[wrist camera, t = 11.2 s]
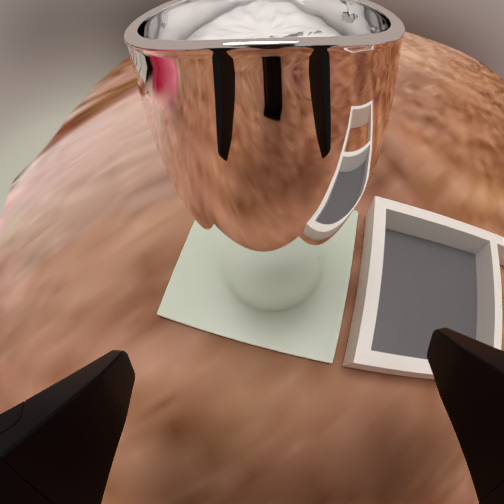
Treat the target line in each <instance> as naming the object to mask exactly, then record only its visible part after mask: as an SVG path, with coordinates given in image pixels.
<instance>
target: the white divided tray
mask: <svg viewBox="0 0 504 504" xmlns="http://www.w3.org/2000/svg"><path fill="white" fill-rule="evenodd" d="M357 217H358V211H355V210H353V211H352V213H351V215H350V216H349V218H348V219H347V221H346V222H345V224H344V225H343V226H342V227H341V229H340V230H339V231H338V233H337V234H336V235H335V236H334V238H333V239H332V240H331V241H330V243H329V244H328V245H327V246H326V247H325V249H324V250H323V251H322V253H321V259H322V267H321V274H320V278H319V281H318V284H317V286H316V288H315V289H314V291H313V292H312V293H311V294H310V295H309V296H308V297H307V298H306V299H305V300H304V301H302V302H301V303H299V304H298V305H296V306H294V307H291V308H288V309H285V310H279V311H266V310H261V309H257V308H254V307H252V306H250V305H248V304H246V303H245V302H243V301H242V300H240V299H239V298H238V297H237V296H236V295H235V294H234V293H233V291H232V290H231V288H230V287H229V285H228V283H227V280H226V277H225V273H224V254H223V252H222V251H221V250H220V249H219V248H218V246H217V245H216V244H215V243H214V242H213V241H212V240H211V238H210V237H209V236H208V235H207V234H206V232H205V231H204V230H203V229H202V228H201V226H200V225H199V224H198V223H197V221H196V220H195V222H194V224H193V226H192V228H191V231H190V233H189V235H188V238H187V240H186V242H185V245H184V247H183V249H182V252H181V254H180V257H179V259H178V261H177V264H176V266H175V269H174V271H173V274H172V276H171V279H170V281H169V284H168V286H167V289H166V291H165V294H164V297H163V299H162V302H161V304H160V307H159V310H158V312H157V315H159V316H161V317H164V318H167V319H170V320H173V321H176V322H179V323H181V324H184V325H187V326H191V327H194V328H197V329H200V330H203V331H206V332H209V333H213V334H216V335H219V336H222V337H226V338H229V339H233V340H236V341H240V342H243V343H247V344H250V345H254V346H258V347H261V348H265V349H269V350H273V351H277V352H281V353H285V354H289V355H293V356H298V357H302V358H306V359H311V360H316V361H320V362H325V363H330V364H332V363H333V359H334V354H335V350H336V346H337V341H338V337H339V332H340V327H341V322H342V317H343V312H344V307H345V301H346V295H347V290H348V284H349V278H350V271H351V265H352V258H353V250H354V243H355V235H356V226H357ZM499 264H500V265H503V266H504V237H501V236H499V235H496V234H493V233H491V232H488V231H485V230H483V229H480V228H477V227H475V226H472V225H469V224H466V223H463V222H460V221H457V220H454V219H451V218H448V217H445V216H442V215H439V214H436V213H433V212H430V211H426V210H423V209H420V208H417V207H413V206H410V205H406V204H403V203H399V202H396V201H392V200H388V199H385V198H381V197H377V196H375V197H374V200H373V202H372V204H371V206H370V209H369V211H368V213H367V215H366V220H365V231H364V241H363V250H362V258H361V266H360V273H359V280H358V287H357V293H356V299H355V305H354V311H353V317H352V322H351V327H350V332H349V337H348V342H347V347H346V352H345V356H344V361H343V365H342V366H345V367H350V368H356V369H361V370H367V371H373V372H379V373H386V374H393V375H400V376H407V377H415V378H424V379H433V380H435V379H434V376H433V373H432V370H431V368H430V365H429V362H428V359H427V350H428V347H429V343H430V340H431V336H432V333H433V331H434V330H436V329H439V328H444V327H446V328H449V329H451V330H454V331H456V332H459V333H461V334H463V335H466V336H468V337H471V338H473V339H475V340H478V341H480V342H483V343H485V344H487V345H490V346H492V347H495V348H497V349H499V350H501V341H502V291H501V276H500V265H499Z"/></svg>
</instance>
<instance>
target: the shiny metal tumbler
mask: <svg viewBox="0 0 504 504" xmlns="http://www.w3.org/2000/svg"><path fill="white" fill-rule="evenodd" d="M404 33H405V28H404V25H403V23H402V22H401V20H400V19H399V18H398V17H397V16H395V15H394V14H393V13H391V12H390V11H388V10H387V9H385V8H383V7H382V6H380V5H377V4H375V3H373V2H371V1H369V0H172V1H170V2H167V3H165V4H162V5H160V6H158V7H156V8H154V9H152V10H150V11H148V12H147V13H145V14H143V15H142V16H140V17H139V18H137V19H136V20H135V21H134V22H133V23H132V24H131V25H130V26H129V27H128V28H127V29H126V31H125V34H124V40H125V42H126V44H127V46H128V50H129V53H130V57H131V61H132V64H133V68H134V72H135V76H136V80H137V84H138V88H139V92H140V96H141V100H142V103H143V106H144V110H145V113H146V116H147V120H148V123H149V126H150V130H151V133H152V135H153V138H154V141H155V143H156V146H157V149H158V151H159V154H160V156H161V159H162V162H163V164H164V167H165V169H166V171H167V173H168V175H169V177H170V179H171V181H172V183H173V185H174V187H175V188H176V190H177V192H178V194H179V196H180V198H181V200H182V201H183V203H184V204H185V206H186V207H187V208H188V210H189V211H190V213H191V214H192V216H193V217H194V218H195V220H196V221H197V223H198V224H199V225H200V226H201V228H202V229H203V230H204V231H205V232H206V234H207V235H208V236H209V237H210V238H211V240H212V241H213V242H214V243H215V244H216V245H217V246H218V248H219V249H220V250H221V251H222V252H223V254H224V273H225V277H226V280H227V283H228V285H229V287H230V288H231V290H232V291H233V293H234V294H235V295H236V296H237V297H238V298H239V299H240V300H242V301H243V302H245V303H246V304H248V305H250V306H252V307H254V308H257V309H261V310H266V311H279V310H285V309H288V308H291V307H294V306H296V305H298V304H299V303H301V302H302V301H304V300H305V299H306V298H307V297H308V296H309V295H310V294H311V293H312V292H313V291H314V289H315V288H316V286H317V284H318V281H319V278H320V274H321V267H322V259H321V253H322V251H323V250H324V249H325V247H326V246H327V245H328V244H329V243H330V241H331V240H332V239H333V238H334V236H335V235H336V234H337V233H338V231H339V230H340V229H341V227H342V226H343V225H344V224H345V222H346V221H347V219H348V218H349V216H350V215H351V213H352V211H353V210H354V208H355V207H356V205H357V203H358V202H359V200H360V199H361V197H362V195H363V193H364V191H365V189H366V186H367V184H368V182H369V179H370V177H371V175H372V172H373V170H374V168H375V165H376V163H377V160H378V157H379V153H380V150H381V147H382V144H383V140H384V137H385V133H386V130H387V126H388V122H389V117H390V112H391V107H392V103H393V97H394V92H395V86H396V79H397V72H398V65H399V58H400V51H401V44H402V39H403V36H404Z"/></svg>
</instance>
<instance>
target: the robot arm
mask: <svg viewBox="0 0 504 504" xmlns="http://www.w3.org/2000/svg"><path fill="white" fill-rule="evenodd" d="M427 359H428V362H429V365H430V368H431V370H432V373H433V376H434V379H435V382H436V385H437V388H438V391H439V394H440V397H441V399H442V402H443V404H444V406H445V409H446V411H447V413H448V416H449V418H450V420H451V423H452V425H453V428H454V430H455V433H456V435H457V438H458V440H459V443H460V446H461V448H462V451H463V454H464V456H465V459H466V462H467V465H468V468H469V471H470V474H471V477H472V480H473V484H474V487H475V490H476V494H477V497H478V501H480V502H479V504H504V351H502V350H499V349H497V348H495V347H492V346H490V345H487V344H485V343H483V342H480V341H478V340H475V339H473V338H471V337H468V336H466V335H463V334H461V333H459V332H456V331H454V330H451V329H449V328H446V327H444V328H439V329H436V330H434V331H433V333H432V336H431V340H430V343H429V347H428V350H427ZM134 381H135V373H134V370H133V367H132V365H131V362H130V359H129V357H128V354H127V353H126V352H125V351H119V350H112V351H110V352H109V353H107V354H105V355H104V356H102V357H100V358H99V359H97V360H95V361H93V362H92V363H90V364H88V365H87V366H85V367H83V368H81V369H80V370H78V371H76V372H74V373H73V374H71V375H69V376H68V377H66V378H64V379H62V380H61V381H59V382H57V383H55V384H54V385H52V386H50V387H48V388H47V389H45V390H43V391H41V392H40V393H38V394H36V395H34V396H33V397H31V398H29V399H27V400H26V401H25V402H22V403H20V404H18V405H17V406H15V407H13V408H11V409H9V410H7V411H5V412H4V413H2V414H0V504H101V502H102V498H103V494H104V490H105V487H106V483H107V480H108V476H109V473H110V469H111V466H112V462H113V459H114V456H115V453H116V449H117V446H118V443H119V440H120V437H121V434H122V430H123V427H124V424H125V421H126V417H127V412H128V408H129V403H130V398H131V394H132V389H133V385H134Z"/></svg>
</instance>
